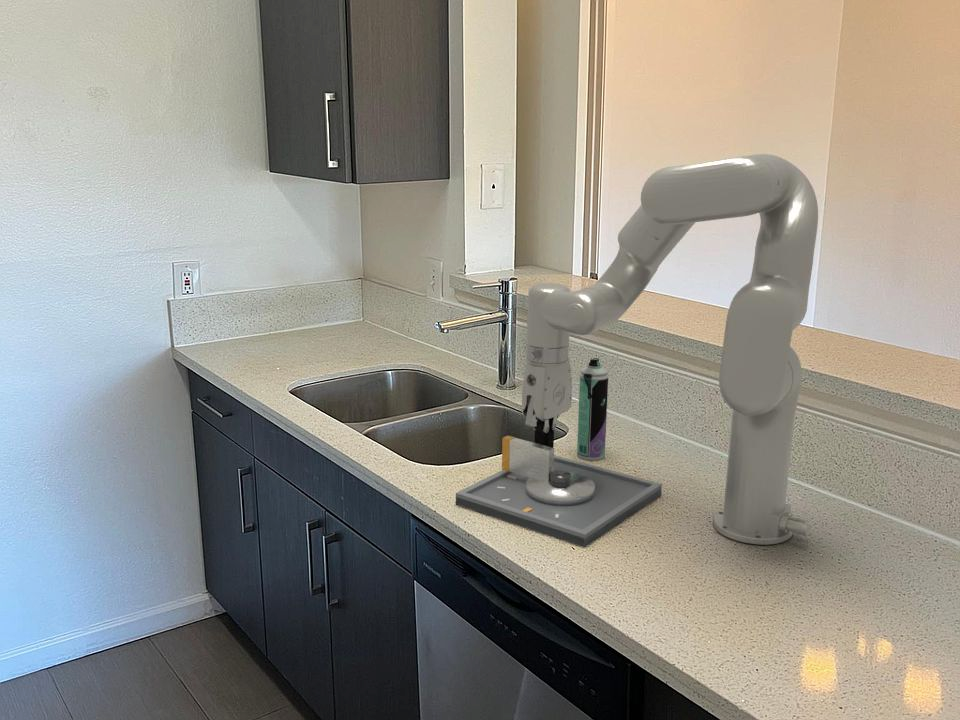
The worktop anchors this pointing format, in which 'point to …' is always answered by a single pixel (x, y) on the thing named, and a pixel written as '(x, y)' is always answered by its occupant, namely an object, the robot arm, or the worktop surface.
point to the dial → (544, 474)
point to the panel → (568, 523)
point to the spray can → (592, 411)
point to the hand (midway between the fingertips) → (543, 449)
